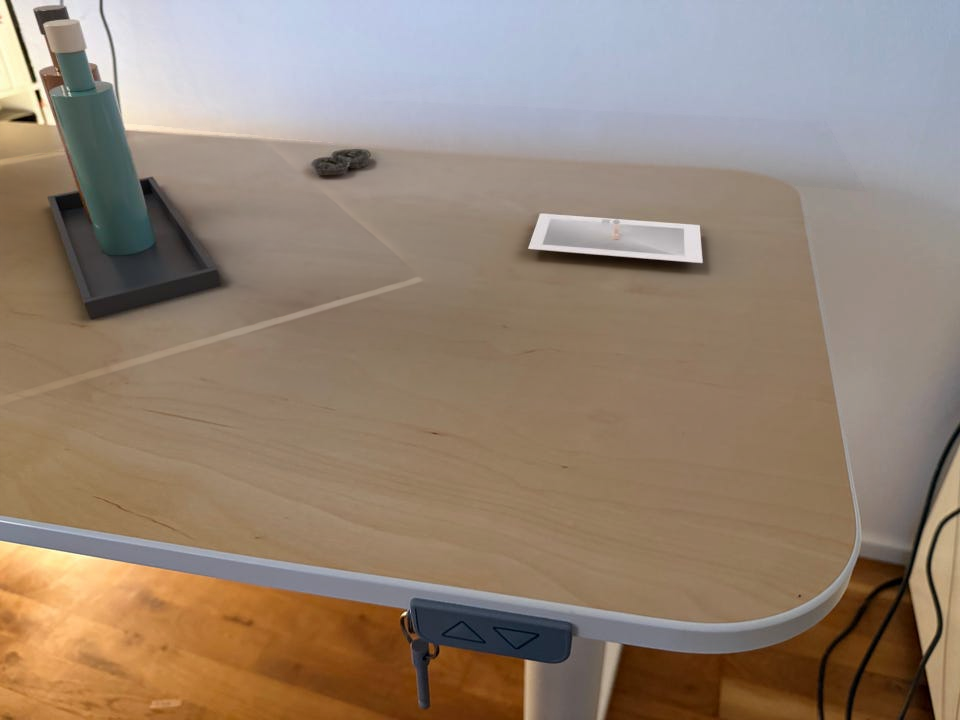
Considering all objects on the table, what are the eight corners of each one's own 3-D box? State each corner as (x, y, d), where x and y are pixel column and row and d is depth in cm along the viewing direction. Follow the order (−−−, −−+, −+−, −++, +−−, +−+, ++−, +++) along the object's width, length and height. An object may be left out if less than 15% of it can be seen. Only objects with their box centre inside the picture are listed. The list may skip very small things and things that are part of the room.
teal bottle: (96, 240, 70) (24, 20, 59) (150, 229, 72) (89, 14, 61) (105, 260, 66) (30, 31, 56) (161, 247, 68) (99, 23, 58)
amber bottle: (84, 211, 75) (16, 6, 65) (133, 201, 78) (75, 0, 67) (91, 228, 72) (20, 14, 61) (143, 217, 74) (83, 8, 63)
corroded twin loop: (301, 172, 85) (300, 163, 84) (351, 153, 90) (350, 144, 90) (332, 182, 82) (331, 173, 82) (382, 161, 88) (381, 152, 87)
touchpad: (700, 274, 64) (704, 251, 63) (527, 259, 67) (528, 237, 66) (697, 235, 70) (701, 214, 69) (539, 223, 73) (540, 203, 72)
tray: (53, 214, 76) (47, 196, 75) (157, 194, 80) (152, 176, 79) (92, 324, 58) (84, 302, 57) (222, 290, 63) (217, 269, 62)
